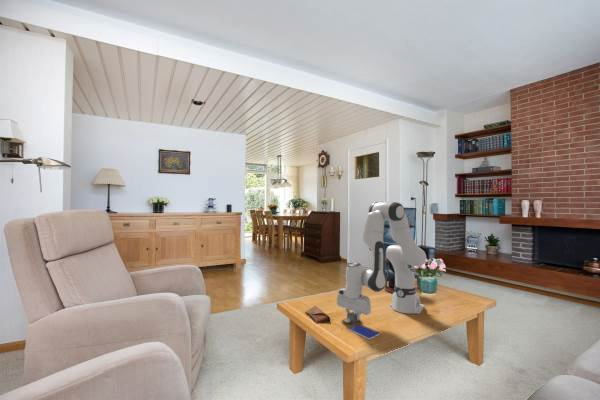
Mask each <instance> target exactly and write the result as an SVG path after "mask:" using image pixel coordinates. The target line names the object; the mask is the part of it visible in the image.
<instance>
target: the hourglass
mask: <svg viewBox="0 0 600 400" xmlns="http://www.w3.org/2000/svg"><path fill="white" fill-rule="evenodd" d="M388 267H389V269H390V270H391V272H392V273H393V276H391V277H390V279H388V278H389V276H390V271H389V270H388ZM385 272H386V273H387V275H386V280H387V282H386V286H385V288H384V291H385V292H386V293H389V294H392V295H393V293H394V292H395V289H394V287H395V270H394V267H393V265H392V263H391V262H390V260H389V259H388V258H387V256H386V255H385Z"/></svg>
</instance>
